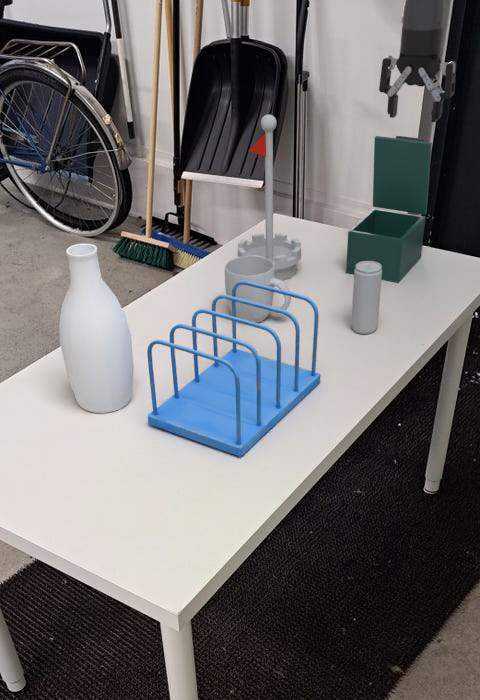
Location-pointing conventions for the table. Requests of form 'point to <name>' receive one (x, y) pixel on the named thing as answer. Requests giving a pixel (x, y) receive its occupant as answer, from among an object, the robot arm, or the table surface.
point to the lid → (401, 173)
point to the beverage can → (366, 296)
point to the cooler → (386, 242)
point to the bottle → (95, 337)
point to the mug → (255, 272)
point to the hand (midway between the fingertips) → (413, 118)
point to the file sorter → (234, 384)
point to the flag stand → (271, 216)
